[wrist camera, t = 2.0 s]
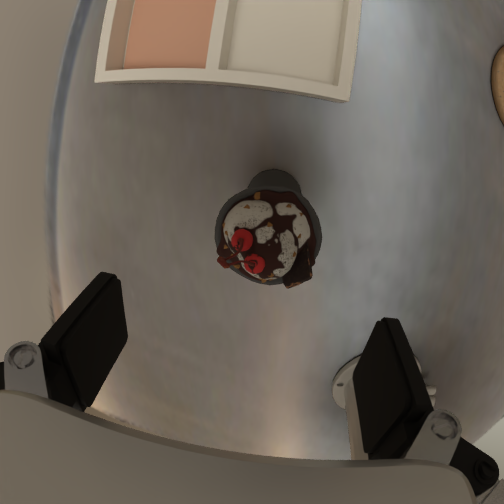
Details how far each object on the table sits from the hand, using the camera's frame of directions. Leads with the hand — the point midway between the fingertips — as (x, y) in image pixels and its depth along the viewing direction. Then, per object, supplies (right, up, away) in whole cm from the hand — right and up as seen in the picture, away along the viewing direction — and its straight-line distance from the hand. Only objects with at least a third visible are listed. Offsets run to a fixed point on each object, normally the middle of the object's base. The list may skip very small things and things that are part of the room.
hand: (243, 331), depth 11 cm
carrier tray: (-2, +22, +11) cm, 25 cm away
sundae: (+2, +8, +18) cm, 20 cm away
